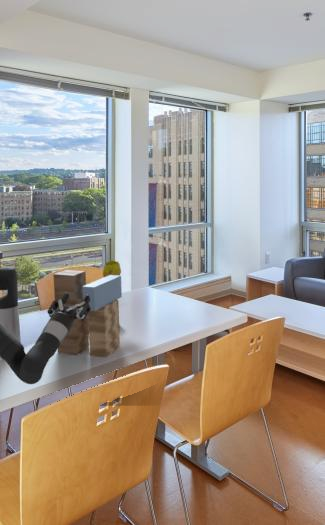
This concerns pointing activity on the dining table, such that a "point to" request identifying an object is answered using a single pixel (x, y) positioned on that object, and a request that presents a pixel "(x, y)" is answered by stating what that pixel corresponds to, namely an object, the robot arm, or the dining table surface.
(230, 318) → the dining table surface
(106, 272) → the flower
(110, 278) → the rail
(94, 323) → the step
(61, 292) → the pedestal
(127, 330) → the dining table surface
